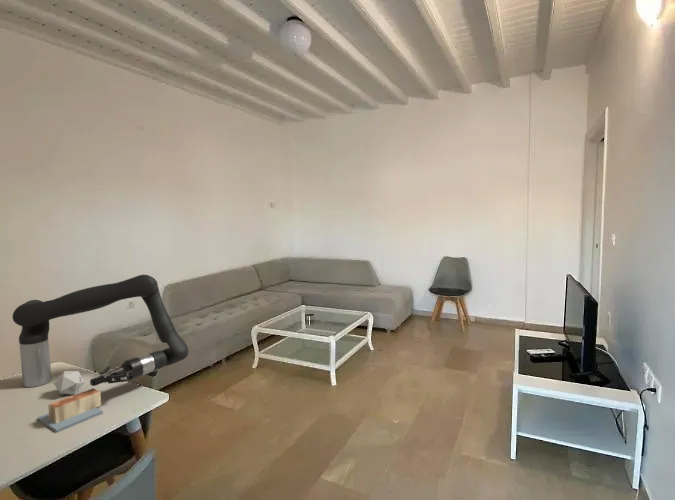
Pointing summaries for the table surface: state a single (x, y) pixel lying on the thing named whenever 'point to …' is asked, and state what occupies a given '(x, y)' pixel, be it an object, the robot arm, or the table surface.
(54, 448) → the table surface
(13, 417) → the table surface
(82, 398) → the beech block
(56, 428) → the mat
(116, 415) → the table surface
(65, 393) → the die
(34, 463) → the table surface
